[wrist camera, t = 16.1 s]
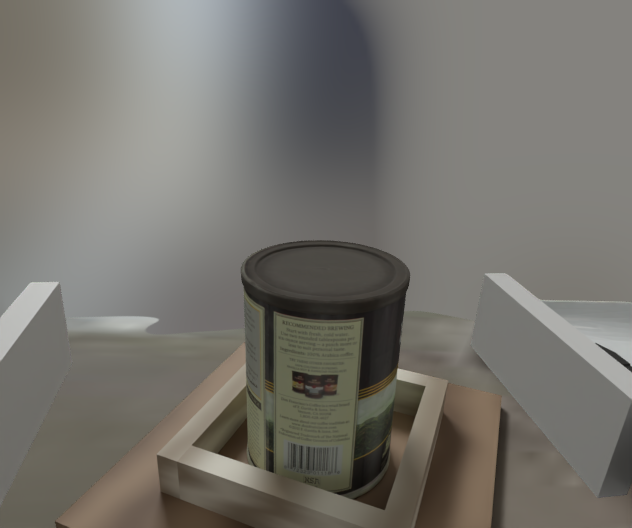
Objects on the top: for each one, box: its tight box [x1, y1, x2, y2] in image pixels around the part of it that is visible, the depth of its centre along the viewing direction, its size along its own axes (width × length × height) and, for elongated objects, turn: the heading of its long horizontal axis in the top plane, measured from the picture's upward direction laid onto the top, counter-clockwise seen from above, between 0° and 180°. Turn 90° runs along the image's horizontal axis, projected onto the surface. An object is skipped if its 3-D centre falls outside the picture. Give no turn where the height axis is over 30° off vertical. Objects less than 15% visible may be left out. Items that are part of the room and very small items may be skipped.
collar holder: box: [55, 342, 502, 528], centre depth 36 cm, size 24×24×4 cm
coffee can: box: [241, 240, 410, 499], centre depth 33 cm, size 10×10×14 cm
